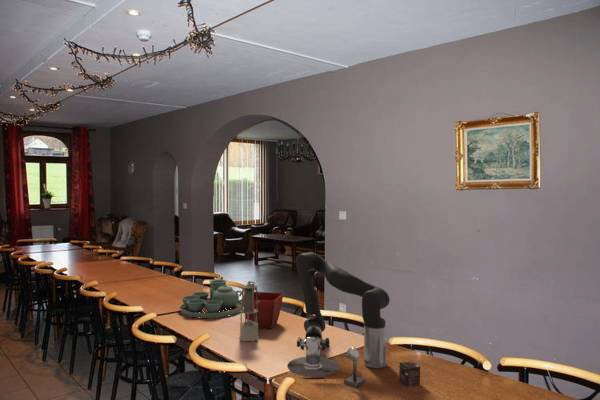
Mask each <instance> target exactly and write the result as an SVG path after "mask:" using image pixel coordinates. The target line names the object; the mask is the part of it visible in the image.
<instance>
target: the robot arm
mask: <svg viewBox="0 0 600 400" xmlns="http://www.w3.org/2000/svg"><path fill="white" fill-rule="evenodd" d="M295 266H296V270H297V275H298V279H299V281H300V285H301V287H302V292H303V299H304V306H305V308H304V309H305V313H306V314H308V315H314V316H316V317H313V318H312V317H311V318H307V319H305V320H304V323H303V327H304V331H305V337H304V338H301V337H300V336H299V337H297V339H296V348H300V350H301V351H304V350H305V348H306V339H308V338H310V337H316V338H318V339H320V348H321V350H322V351H324V350H326V348H329V349H330V347H331V346H330V338H329V337H325V338H324V339H323V332H324V331H325V330H326V321H325V319H324V317H323V314H322V312H321V307H320V302H319V301H320V300H319V295H318V292H317V291H316V288H315V287H314V285H313V283H312V281H311V278H310V272H312V271H315V272H317V273H319V274H321V275H323V276H324V278H325V279H326V281H327V282H328V284H329V285H330V286H332V287H333V288H335V289H337V290H338V291H340V292H343V293H347V294H349V295H355V296H358V297H362V298H361V311H362V312H361V315H362V320H363V365H364V366H366V367H368V368H371V369H381V368H386V366H387V344H386V319H384V318H383V317H381V310H383V309H385V308H386V307H387V306H389V304H390V296H389V293H388V292H386V290H384V289H383V288H380V287H378V286H376V285H374V284H371V283H368V282H366V281H364V280H363V279H360V278H359V277H357V276H355V275H353V274H351V273H350V272H348V271H346V270H344V269H343V268H340V267H338V266H337V265H335V264H333V263H331V262H329V261H327V260H326V259H324V258H323V257H321V256H320V255H319V254H317V253H315V252H313V251H310V252H304V253H300V254H298V255H297V256H296V259H295Z"/></svg>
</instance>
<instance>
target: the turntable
mask: <svg viewBox="0 0 600 400" xmlns="http://www.w3.org/2000/svg"><path fill="white" fill-rule="evenodd" d="M339 367H340V366H339V364H338V362H337V361H335V360H333V359H330V358H327V357H324V356H320V367H319V368H308V367H306V356H302V357H301V356H300V357H298V358H293V359H292V360H289V362H288V363H287V369H288V370H289V371H290V372H291V373H293V374H295V375H299V376H304V377H302V379H303V380H323V379H326V378H325V377H324V378H323V376H329V375H331V374H334V373H336V372H337V371H338V370H339Z"/></svg>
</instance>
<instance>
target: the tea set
mask: <svg viewBox="0 0 600 400" xmlns="http://www.w3.org/2000/svg"><path fill="white" fill-rule="evenodd" d="M208 282H209V292H207V291H196V292H193V293H191V295H185V296H183V297H181V300H182V304H180V305H179V310H180V314H181V313H182V314H184V315H183V316H185V315H187V316H186V317H188V316H190V317H189V318H192V317H200V318H199V319H203V318H207V319H216V318H215V317H222V318H224V317H223V316H227V317H229V316H228V315H232V316H235V315H237V314H239V313H241V312H240V311H241V310H242V298H241V299H240V295H239V293H240V294H241V295H242V291H241V290H235V289H233V288H234V287H232V286H231V285H227V280H226V279H223V278H222V279H220V278H219V279H218V278H217V279H216V278H215V279H211V280H209V281H208ZM208 296H209V297H208ZM243 298H244V293H243ZM225 308H226V309H227V310H226V309H225ZM230 308H231V309H230ZM202 310H203V311H204V312H205V313H204V312H203V311H202ZM223 310H224V311H223ZM228 310H229V311H228ZM219 311H220V312H219ZM199 312H200V313H199ZM238 312H239V313H238ZM236 313H237V314H236ZM182 314H181V315H182ZM234 314H235V315H234Z"/></svg>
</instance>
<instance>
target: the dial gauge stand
mask: <svg viewBox="0 0 600 400" xmlns="http://www.w3.org/2000/svg"><path fill="white" fill-rule="evenodd" d="M341 357H344V358H348V359H349V360H350V361H352V375H350V376H349V377H347V378H344V380H343V384H345V385H348V386H351V387H354V388H359V387H360V386H362V385H365V383H366V378H364V377H360V376H357V366H358V365H357V363H358V362H357V361H358V359H359V358H360V351H359V350H358V349H357V348H356V347H355V346H354V347H353V346H352V347H350V348H348V349H347V351H346V353H341Z"/></svg>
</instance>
